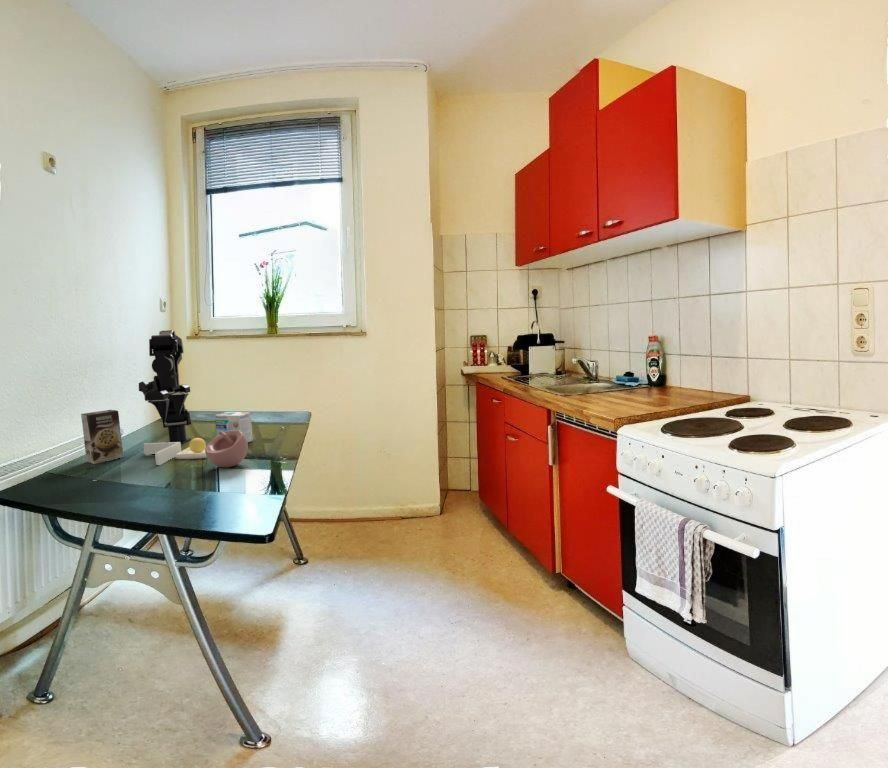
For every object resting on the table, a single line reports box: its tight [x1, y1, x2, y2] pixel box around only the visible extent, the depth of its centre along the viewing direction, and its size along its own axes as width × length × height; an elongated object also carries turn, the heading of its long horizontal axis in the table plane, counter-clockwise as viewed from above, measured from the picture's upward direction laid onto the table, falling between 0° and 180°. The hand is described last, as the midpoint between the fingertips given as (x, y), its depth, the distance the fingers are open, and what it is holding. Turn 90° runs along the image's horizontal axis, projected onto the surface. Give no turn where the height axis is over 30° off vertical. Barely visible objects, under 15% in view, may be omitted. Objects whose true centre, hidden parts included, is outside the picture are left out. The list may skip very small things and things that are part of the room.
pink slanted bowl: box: [205, 430, 249, 468], centre depth 157 cm, size 12×12×11 cm
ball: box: [188, 437, 207, 453], centre depth 174 cm, size 5×5×5 cm
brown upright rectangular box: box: [80, 409, 124, 465], centre depth 172 cm, size 9×6×16 cm
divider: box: [142, 441, 182, 466], centre depth 169 cm, size 14×12×4 cm
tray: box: [174, 445, 208, 460], centre depth 174 cm, size 10×10×2 cm
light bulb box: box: [214, 411, 254, 444], centre depth 189 cm, size 11×7×11 cm, turn 73°
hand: (171, 417), depth 179 cm, fingers open, 9 cm apart
